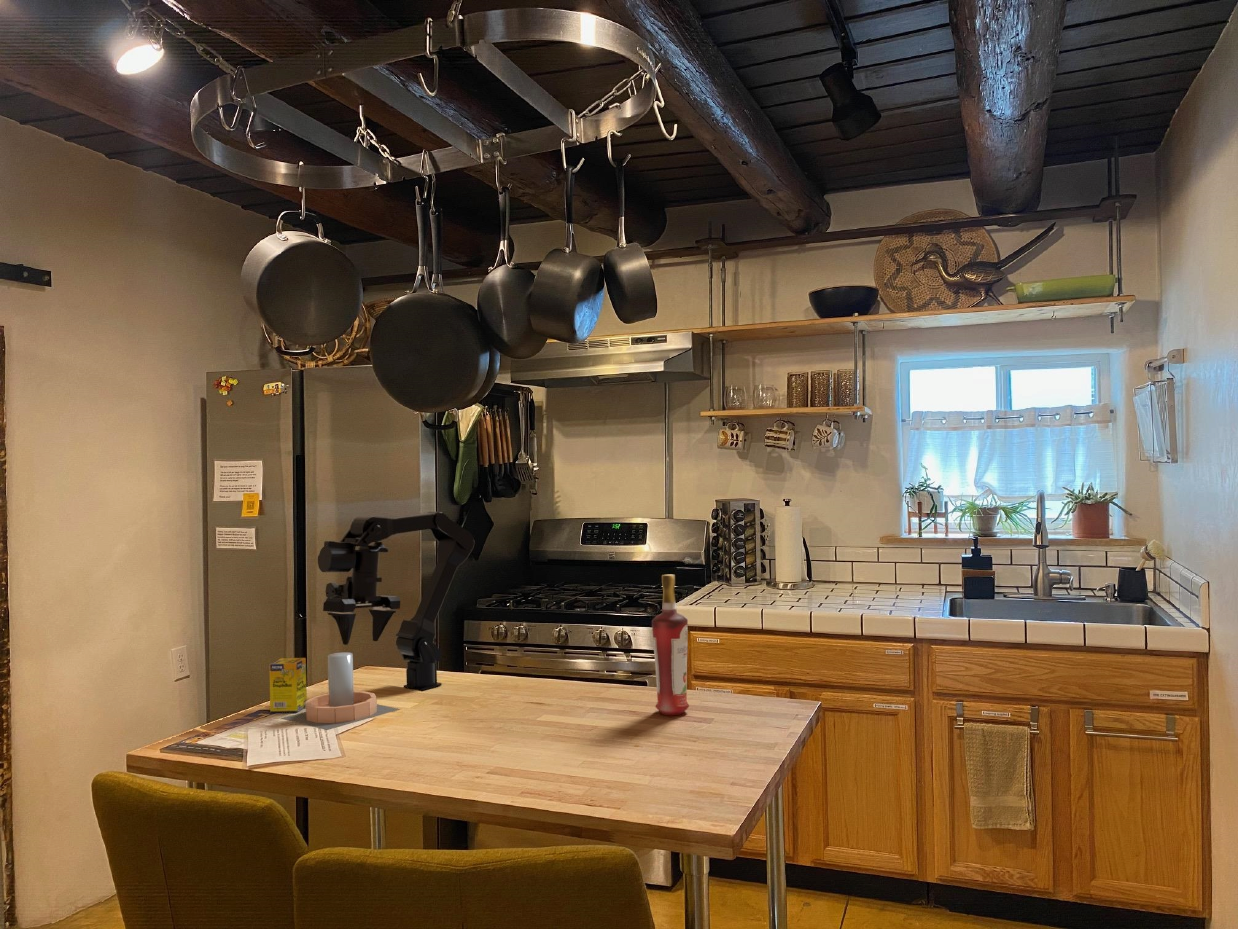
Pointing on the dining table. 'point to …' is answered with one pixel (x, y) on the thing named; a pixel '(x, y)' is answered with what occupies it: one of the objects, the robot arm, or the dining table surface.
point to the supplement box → (287, 685)
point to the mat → (302, 719)
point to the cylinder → (340, 679)
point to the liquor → (670, 653)
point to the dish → (340, 708)
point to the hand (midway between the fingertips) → (360, 642)
